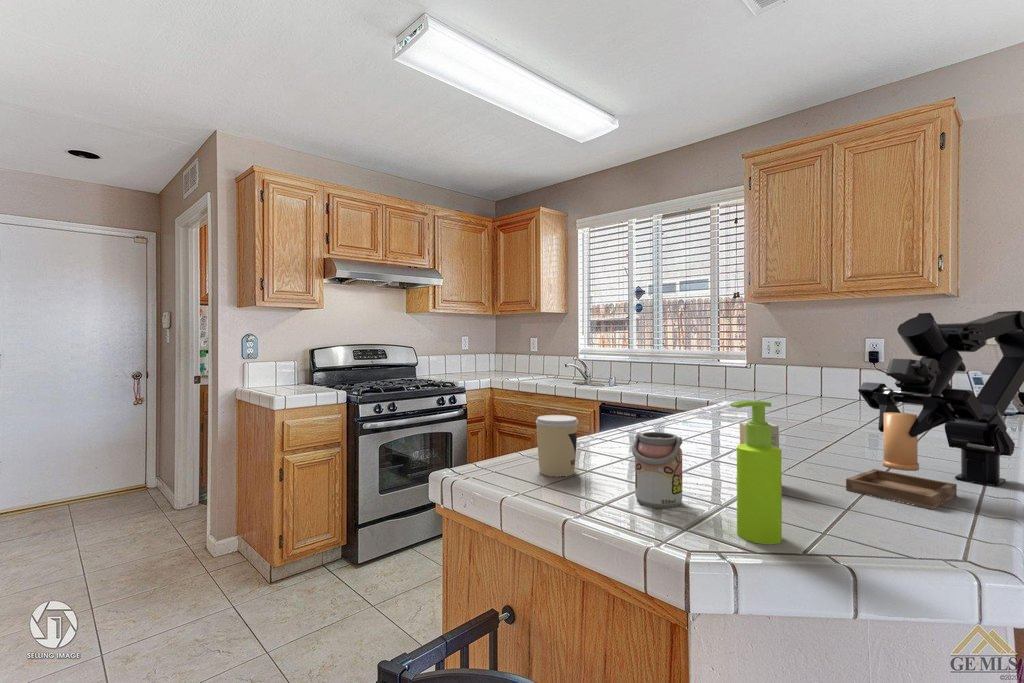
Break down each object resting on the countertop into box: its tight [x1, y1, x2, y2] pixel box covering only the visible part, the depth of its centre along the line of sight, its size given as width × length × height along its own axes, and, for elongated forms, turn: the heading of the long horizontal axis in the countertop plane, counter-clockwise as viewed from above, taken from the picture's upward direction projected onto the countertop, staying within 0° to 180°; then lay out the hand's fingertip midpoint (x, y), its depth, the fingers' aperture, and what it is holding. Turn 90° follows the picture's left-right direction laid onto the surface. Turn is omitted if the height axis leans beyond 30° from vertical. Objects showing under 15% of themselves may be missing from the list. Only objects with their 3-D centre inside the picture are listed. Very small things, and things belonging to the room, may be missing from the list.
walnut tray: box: [845, 468, 958, 510], centre depth 92 cm, size 13×13×2 cm
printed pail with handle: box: [631, 431, 683, 509], centre depth 86 cm, size 9×8×12 cm
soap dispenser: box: [729, 399, 783, 545], centre depth 71 cm, size 6×7×20 cm
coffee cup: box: [535, 414, 579, 478], centre depth 107 cm, size 9×9×12 cm
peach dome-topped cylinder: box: [882, 412, 920, 472], centre depth 92 cm, size 5×5×10 cm
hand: (895, 432), depth 91 cm, fingers closed on peach dome-topped cylinder, 5 cm apart
